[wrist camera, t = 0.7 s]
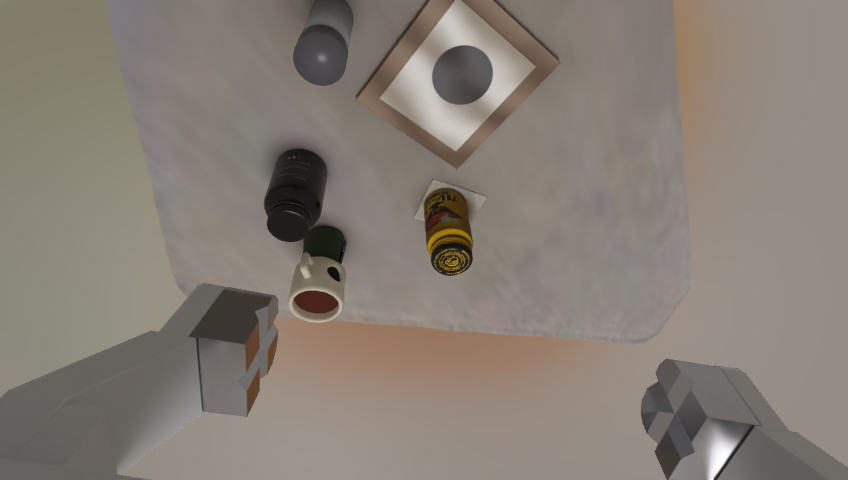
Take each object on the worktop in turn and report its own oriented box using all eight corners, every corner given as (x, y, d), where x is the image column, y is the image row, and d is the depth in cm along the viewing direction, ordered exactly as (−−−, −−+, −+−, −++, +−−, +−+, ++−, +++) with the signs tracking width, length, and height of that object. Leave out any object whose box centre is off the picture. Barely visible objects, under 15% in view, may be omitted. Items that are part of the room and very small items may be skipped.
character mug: (359, 260, 76) (354, 326, 66) (316, 269, 77) (305, 335, 67) (336, 207, 69) (327, 273, 59) (289, 217, 70) (272, 283, 60)
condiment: (432, 178, 66) (438, 236, 57) (487, 195, 69) (501, 253, 60) (413, 217, 71) (416, 276, 62) (465, 232, 73) (475, 291, 64)
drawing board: (454, -37, 49) (456, -34, 48) (558, 59, 56) (561, 63, 55) (356, 96, 58) (355, 101, 57) (456, 164, 65) (457, 170, 64)
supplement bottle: (332, 189, 67) (323, 247, 58) (283, 192, 67) (265, 251, 58) (322, 145, 62) (311, 202, 53) (269, 149, 62) (249, 206, 53)
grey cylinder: (324, -16, 50) (310, 22, 41) (362, 13, 52) (356, 56, 43) (302, 21, 52) (283, 65, 43) (339, 47, 54) (328, 95, 45)
